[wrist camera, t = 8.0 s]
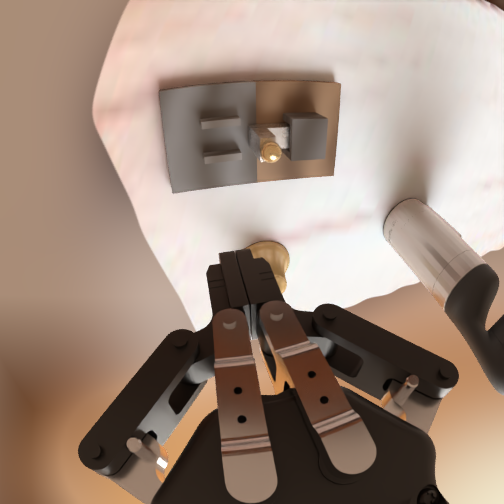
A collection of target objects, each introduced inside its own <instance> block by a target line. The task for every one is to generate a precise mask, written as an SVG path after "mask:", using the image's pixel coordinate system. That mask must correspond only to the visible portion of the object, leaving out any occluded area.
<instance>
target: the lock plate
mask: <svg viewBox="0 0 504 504" xmlns="http://www.w3.org/2000/svg"><path fill="white" fill-rule="evenodd" d="M340 92H341V84H340V83H336V82H325V81H298V80H266V81H240V82H224V83H212V84H202V85H193V86H185V87H177V88H170V89H163V90H160V91H159V97H160V106H161V115H162V123H163V131H164V139H165V147H166V154H167V161H168V168H169V174H170V181H171V187H172V193H173V194H174V193H180V192H187V191H194V190H201V189H208V188H216V187H223V186H231V185H239V184H248V183H257V182H266V181H276V180H286V179H297V178H309V177H322V176H334V167H335V157H336V146H337V135H338V122H339V108H340ZM273 123H288V124H290V147H289V148H282V149H281V150H282V154H281V157H280V159H279V160H278V161H276V162H273V163H269V162H266V161H264V162H260V161H259V159H258V158H257V156H256V155H255V154H254V152H253V151H252V149H251V148H250V147H249V141H248V125H256V124H273Z"/></svg>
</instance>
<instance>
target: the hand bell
mask: <svg viewBox="0 0 504 504" xmlns="http://www.w3.org/2000/svg"><path fill="white" fill-rule="evenodd" d="M249 248H250V250H251V252H252V255H253V258H260V257H263V258H264V259H265V260H266V261H267V262H268V263H269V264H270V266H271V269H272V271H273V273H274V276H275V279H276V281H277V283H278V286H279V288H280V291H281V293H283V292H284V291H285V289H286V286H287V282H286V279H285V272H286V270H287V268H288V266H289V254H288V251H287V250H286V249H285V247H283V246H282V245H281V244H279V243H276V242H271V241H263V242H258V243H255V244H253V245H251V246H249V247H247V248H246V249H249Z"/></svg>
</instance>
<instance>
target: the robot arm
mask: <svg viewBox="0 0 504 504" xmlns="http://www.w3.org/2000/svg"><path fill="white" fill-rule="evenodd" d="M383 232H384V237H385V239H386V241H387V242H388V243H389V244H390V245H391V246H392V248H393V249H394V250H395V251H396V252H397V253H398V255H399V256H400V257H401V258H402V259H403V260H404V262H405V263H406V264H407V265H408V266H409V268H410V269H411V270H412V271H413V272H414V274H415V275H416V276H417V277H418V278H419V280H420V281H421V282H422V283H423V285H424V286H425V287H426V288H427V290H428V291H429V292H430V293H431V295H432V296H433V297H434V298H435V300H436V301H437V302H438V303H439V305H440V306H441V307H442V309H443V310H444V311H445V313H446V314H447V315H448V317H449V318H450V319H451V321H452V322H453V323H454V324H455V326H456V327H457V329H458V330H459V331H460V332H461V334H462V336H463V337H464V339H465V340H466V341H467V343H468V345H469V346H470V348H471V349H472V351H473V353H474V355H475V357H476V358H477V360H478V362H479V364H480V365H481V367H482V369H483V371H484V373H485V374H486V376H487V378H488V379H489V381H490V382H491V384H492V385H493V387H494V388H495V389H496V390H497V391H498V392H499V393H500V394H502V395H504V315H503V316H502V317H501V318H500V319H499V320H498V321H497V322H496V323H495V324H494V325H493V326H492V327H491V328H490V329H489V330H488V331H486V330H485V322H486V318H487V314H488V311H489V309H490V307H491V304H492V302H493V300H494V298H495V296H496V293H497V291H498V287H499V278H498V276H497V274H496V273H495V272H494V270H492V268H491V267H490V266H489V265H488V264H487V263H486V262H485V261H484V260H483V259H482V258H481V257H480V256H479V255H478V254H477V253H476V252H475V251H474V250H473V249H472V248H471V247H470V246H469V245H468V244H467V243H466V242H465V241H464V240H463V239H462V238H461V235H460V234H459V233H458V232H457V231H456V230H455V229H454V228H453V227H452V226H451V225H450V224H449V223H448V222H446V221H445V220H444V219H443V218H442V217H441V216H440V215H438V214H437V213H436V212H435V211H434V210H433V209H432V208H430V207H429V206H428V205H424V204H423V203H422V202H421V201H419V200H417V199H408V200H405V201H403V202H401V203H399V204H398V205H397V206H396V207H395V208H394V209H393V210H392V211H391V212H390V214H389V215H388V217H387V219H386V221H385V224H384V230H383ZM219 261H220V264H215V265H210V266H209V268H208V270H207V273H206V275H207V281H208V288H209V294H210V300H211V307H212V313H213V316H212V320H211V322H210V323H209V324H208V325H207V326H206V327H205V328H203V329H201V330H199V331H197V332H195V333H193V332H192V331H189V330H186V329H179V330H176V331H173V332H171V333H170V334H168V336H166V338H165V339H164V340H163V341H162V343H161V344H160V345H159V346H158V347H157V349H156V350H155V351H154V352H153V353H152V355H151V356H150V357H149V358H148V360H147V361H146V362H145V363H144V364H143V366H142V367H141V368H140V369H139V371H138V372H137V373H136V374H135V375H134V377H133V378H132V379H131V380H130V381H129V383H128V384H127V385H126V386H125V388H124V389H123V390H122V391H121V393H120V394H119V395H118V396H117V397H116V399H115V400H114V401H113V402H112V404H111V405H110V406H109V407H108V409H107V410H106V411H105V412H104V413H103V415H102V416H101V417H100V419H99V420H98V421H97V422H96V423H95V425H94V426H93V427H92V428H91V430H90V431H89V432H88V433H87V435H86V436H85V437H84V438H83V440H82V441H81V443H80V445H79V448H78V454H79V458H80V460H81V462H82V463H83V464H84V465H85V466H86V467H88V468H90V469H92V470H93V471H95V472H96V473H98V474H99V475H102V476H104V477H106V478H108V479H110V480H112V481H114V482H115V483H116V484H118V485H119V486H120V487H122V488H123V489H125V490H126V491H127V492H129V493H130V494H132V495H133V496H135V497H136V498H137V499H139V500H140V501H142V502H143V503H145V504H449V503H448V502H447V501H446V499H445V498H444V497H443V496H442V494H441V493H440V492H439V490H438V488H437V485H436V480H435V459H436V452H435V447H434V444H433V442H432V440H431V438H430V437H429V436H428V434H427V433H428V431H429V429H430V426H431V424H432V422H433V420H434V417H435V415H436V412H437V410H438V407H439V404H440V402H441V400H442V398H443V397H445V395H446V394H447V393H448V392H449V391H450V390H451V389H452V388H453V387H454V386H455V385H456V384H457V382H458V378H459V374H458V370H457V368H456V367H455V366H454V364H453V363H451V362H450V361H448V360H446V359H444V358H442V357H439V356H438V355H435V354H433V353H431V352H429V351H427V350H425V349H423V348H421V347H419V346H417V345H415V344H413V343H411V342H409V341H407V340H405V339H403V338H401V337H399V336H397V335H395V334H393V333H391V332H389V331H387V330H385V329H383V328H381V327H379V326H377V325H374V324H373V323H371V322H369V321H367V320H364V319H363V318H361V317H358V316H357V315H355V314H352V313H351V312H349V311H347V310H344V309H343V308H341V307H339V306H336V305H334V304H322V305H320V306H318V307H317V308H316V309H315V310H314V312H307V311H298V310H295V309H293V308H291V306H290V305H289V304H287V303H286V302H285V300H284V298H283V296H282V293H281V291H280V288H279V286H278V283H277V281H276V279H275V276H274V273H273V271H272V269H271V266H270V264H269V263H268V262H267V261H266V260H265V259H264V258H263V257H260V258H253V255H252V252H251V250H250V248H249V249H243V250H236V251H235V253H234V251H230V252H223V253H219ZM251 336H252V339H257V338H258V340H259V344H260V353H261V356H262V359H263V361H264V364H265V366H266V369H267V372H268V374H269V377H270V379H271V382H272V384H273V387H274V391H275V395H261V392H260V387H259V381H258V375H257V370H256V364H255V359H254V358H253V353H252V348H251V342H250V340H251ZM334 375H335V376H336V377H338V378H340V379H342V380H344V381H345V382H347V383H349V384H351V385H353V386H355V387H356V388H358V389H360V390H362V391H364V392H366V393H368V394H369V395H371V396H373V397H375V398H377V399H379V400H381V404H382V407H383V408H381V407H379V406H377V405H376V404H374V403H372V402H370V401H369V400H367V399H365V398H364V397H362V396H360V395H358V394H357V393H355V392H353V391H352V390H350V389H348V388H345V387H342V386H340V385H339V383H338V381H337V379H336V378H335V376H334ZM213 376H215V381H216V393H217V403H218V404H217V405H218V408H217V409H215V410H213V411H212V412H211V413H209V414H208V415H207V416H206V417H205V418H204V419H203V420H202V422H201V423H200V424H199V426H198V427H197V429H196V431H195V432H194V434H193V435H192V437H191V439H190V440H189V442H188V444H187V446H186V447H185V448H184V450H183V452H182V453H181V455H180V456H179V458H178V460H177V461H176V463H175V464H174V466H173V468H172V469H171V471H170V472H169V474H168V476H167V477H166V478H164V470H165V467H166V465H167V463H168V454H167V452H166V450H165V448H164V447H163V445H164V444H165V442H166V441H167V439H168V438H169V437H170V435H171V434H172V432H173V431H174V429H175V428H176V427H177V425H178V424H179V422H180V421H181V419H182V418H183V416H184V415H185V414H186V412H187V411H188V409H189V408H190V406H191V405H192V403H193V402H194V401H195V399H196V398H197V396H198V395H199V393H200V392H201V390H202V389H203V387H204V385H205V384H206V383H207V380H208V379H209V378H211V377H213Z"/></svg>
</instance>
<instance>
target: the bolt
mask: <svg viewBox="0 0 504 504" xmlns="http://www.w3.org/2000/svg"><path fill="white" fill-rule="evenodd" d="M248 141H249V147H250V148H251V149H252V151H253V152H254V154H255V155H256V156H257V158H258V159H259V161H260V162H264V161H266V162H269V163H273V162H276V161H278V160H279V159H280V157H281V154H282V150H281V149H282V148H289V147H290V124H288V123H273V124H256V125H248Z"/></svg>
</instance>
